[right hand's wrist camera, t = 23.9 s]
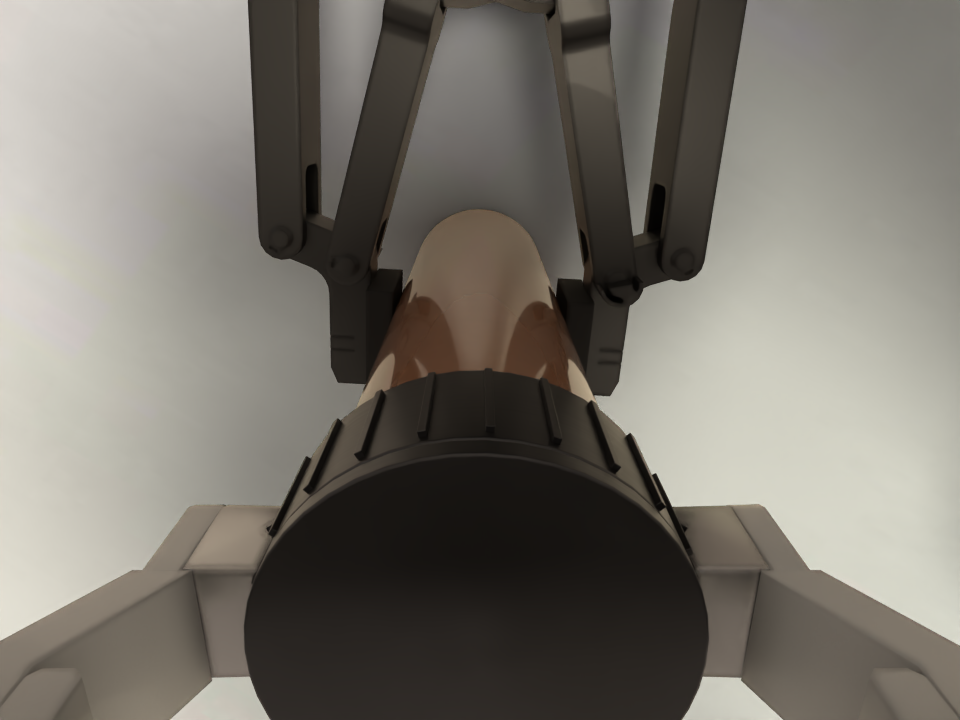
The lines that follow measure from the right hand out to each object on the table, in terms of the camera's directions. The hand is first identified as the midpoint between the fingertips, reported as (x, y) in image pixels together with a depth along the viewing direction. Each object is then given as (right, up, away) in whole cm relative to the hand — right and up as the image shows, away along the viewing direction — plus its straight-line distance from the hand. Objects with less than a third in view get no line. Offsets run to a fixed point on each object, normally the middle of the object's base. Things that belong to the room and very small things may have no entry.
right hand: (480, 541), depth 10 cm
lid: (0, -1, -2) cm, 2 cm away
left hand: (0, -1, +12) cm, 12 cm away
